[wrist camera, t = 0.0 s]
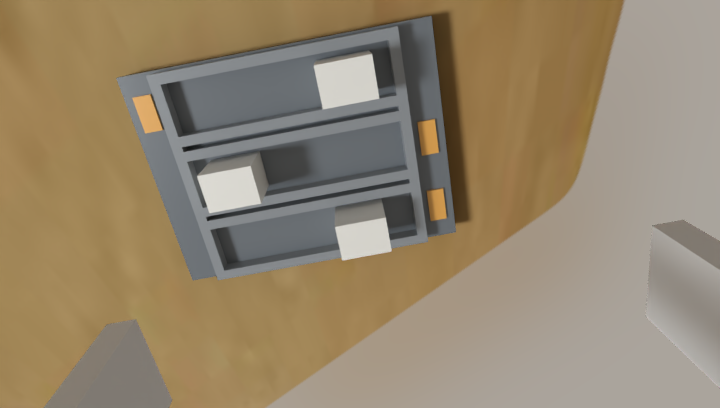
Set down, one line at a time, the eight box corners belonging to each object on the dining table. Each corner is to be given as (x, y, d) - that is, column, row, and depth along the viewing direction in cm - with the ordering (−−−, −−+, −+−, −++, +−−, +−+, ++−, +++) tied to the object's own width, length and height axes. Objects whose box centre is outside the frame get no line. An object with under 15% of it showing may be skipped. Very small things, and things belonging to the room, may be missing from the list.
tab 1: (211, 160, 37) (196, 176, 33) (259, 151, 37) (250, 165, 33) (222, 194, 38) (209, 213, 34) (268, 185, 38) (261, 203, 34)
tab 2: (316, 60, 34) (313, 65, 31) (368, 50, 34) (372, 54, 30) (324, 100, 35) (322, 109, 32) (375, 90, 35) (379, 98, 32)
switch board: (124, 75, 36) (108, 80, 33) (427, 15, 35) (434, 15, 32) (197, 271, 42) (188, 287, 40) (452, 224, 42) (459, 238, 39)
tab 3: (335, 207, 39) (334, 227, 35) (381, 198, 39) (385, 217, 35) (341, 238, 40) (342, 260, 36) (386, 229, 40) (391, 251, 36)
